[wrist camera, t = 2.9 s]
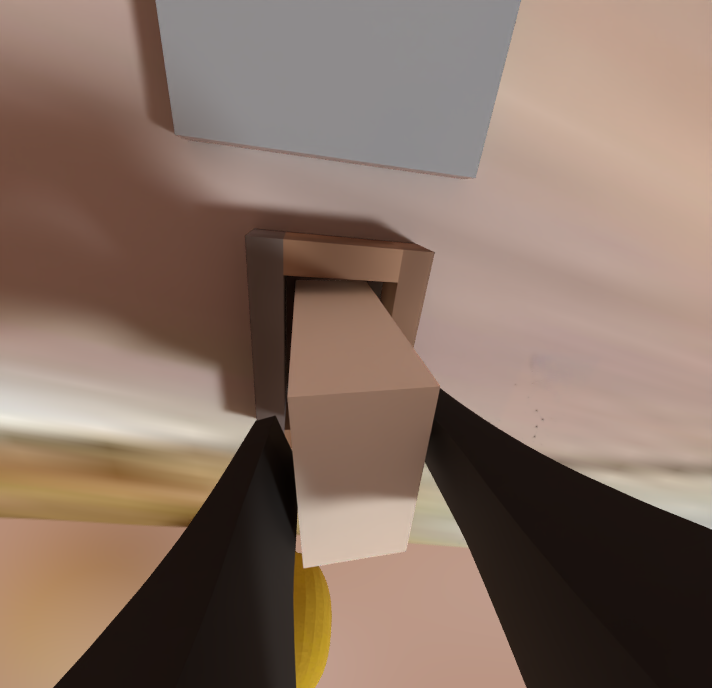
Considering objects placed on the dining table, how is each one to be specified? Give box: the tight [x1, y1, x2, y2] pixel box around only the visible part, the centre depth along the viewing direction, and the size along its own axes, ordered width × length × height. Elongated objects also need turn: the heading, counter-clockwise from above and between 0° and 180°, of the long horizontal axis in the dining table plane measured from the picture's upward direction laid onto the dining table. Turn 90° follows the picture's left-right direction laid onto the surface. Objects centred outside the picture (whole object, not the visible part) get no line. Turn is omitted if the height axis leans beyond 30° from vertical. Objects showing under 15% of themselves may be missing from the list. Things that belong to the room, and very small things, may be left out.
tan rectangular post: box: [287, 280, 440, 568], centre depth 10 cm, size 3×6×8 cm, turn 178°
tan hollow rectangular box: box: [245, 229, 435, 448], centre depth 13 cm, size 7×10×2 cm
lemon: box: [293, 551, 332, 688], centre depth 18 cm, size 6×6×8 cm
